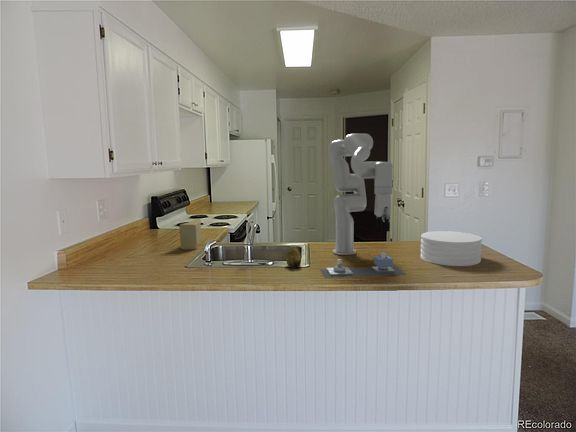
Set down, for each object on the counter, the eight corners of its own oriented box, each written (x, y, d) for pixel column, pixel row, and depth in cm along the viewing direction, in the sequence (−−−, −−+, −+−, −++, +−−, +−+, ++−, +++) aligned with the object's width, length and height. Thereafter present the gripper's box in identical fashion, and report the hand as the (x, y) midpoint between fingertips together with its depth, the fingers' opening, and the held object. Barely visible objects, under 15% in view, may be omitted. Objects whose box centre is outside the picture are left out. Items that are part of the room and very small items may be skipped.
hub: (326, 269, 182) (326, 257, 182) (347, 268, 183) (347, 256, 182) (330, 276, 173) (330, 263, 172) (353, 275, 174) (353, 262, 173)
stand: (371, 268, 183) (372, 251, 182) (388, 267, 184) (389, 250, 183) (377, 273, 175) (377, 255, 174) (394, 272, 176) (395, 254, 175)
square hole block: (374, 263, 182) (374, 255, 182) (387, 262, 183) (387, 255, 182) (378, 267, 176) (378, 259, 175) (392, 266, 177) (392, 258, 176)
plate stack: (463, 269, 181) (464, 245, 179) (409, 258, 202) (409, 236, 200) (490, 259, 198) (492, 236, 197) (438, 249, 220) (439, 229, 218)
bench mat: (319, 270, 183) (319, 269, 183) (396, 267, 186) (396, 266, 186) (324, 278, 170) (324, 278, 170) (406, 275, 173) (406, 274, 173)
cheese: (192, 241, 251) (191, 218, 249) (208, 241, 250) (206, 218, 248) (180, 249, 229) (178, 224, 227) (196, 249, 228) (195, 224, 226)
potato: (282, 269, 186) (282, 252, 184) (287, 262, 198) (287, 246, 197) (300, 269, 184) (300, 253, 183) (303, 262, 197) (303, 246, 196)
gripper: (370, 189, 182) (369, 226, 184) (379, 192, 165) (379, 233, 167) (386, 189, 182) (385, 226, 184) (397, 191, 165) (397, 232, 167)
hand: (382, 229), depth 176 cm, fingers open, 9 cm apart
